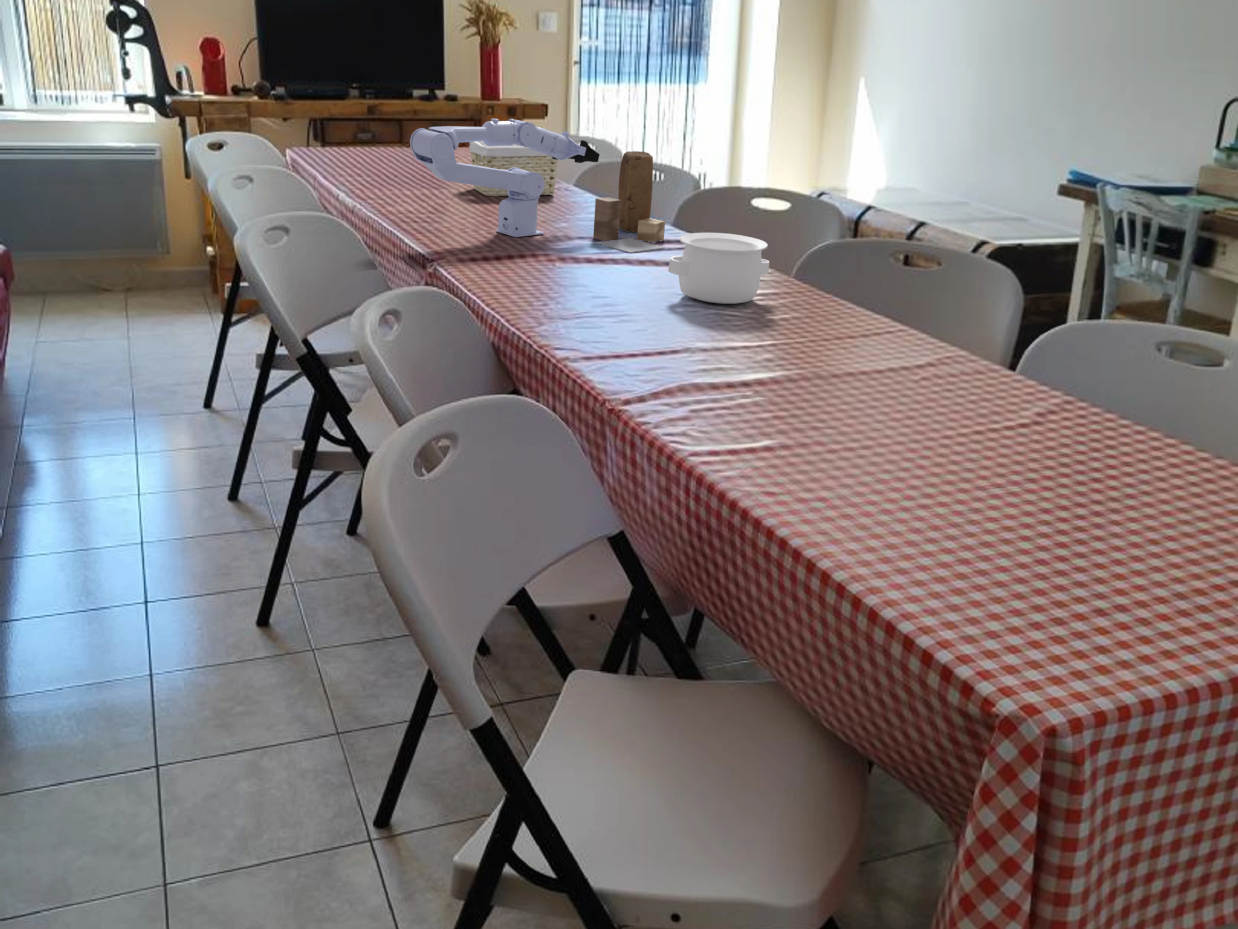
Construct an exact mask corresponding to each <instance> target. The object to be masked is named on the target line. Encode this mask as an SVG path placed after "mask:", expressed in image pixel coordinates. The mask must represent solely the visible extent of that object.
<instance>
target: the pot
mask: <svg viewBox="0 0 1238 929" xmlns="http://www.w3.org/2000/svg"><path fill="white" fill-rule="evenodd" d="M679 241H680V243H682V244H683V245H684V250H683V253H682V255H674V256H671V257H670V259H669V263H668V269H667V272H668V273H670V274H673V275H676V276H678V282H679V287H680V292H681V293H682V294H683V295H685V296H686V297H689V298H693V299H695V300H699V301H703V302H706V303H707V302H708V303H713V304H723V305H724V304H726V305H728V304H730V305H732V304H734V305H735V304H741V303H746V302H751V301H752V300H753V299H755V297H756V295H757V292H758V290H759V288H760V283H761V276H763V275H767V274H770V273H769V271H770V261H769V260H767V259H765V258H762V251H763V250H766V249H768V247H769V246H768V243H767V242H766V241H764V240H762V239H759V238H756V237H751V236H746V235H741V234H736V233H735V234H734V233H724V232H693V233H687V234H683V235H681V236H679Z"/></svg>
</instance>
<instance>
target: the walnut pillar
mask: <svg viewBox="0 0 1238 929" xmlns="http://www.w3.org/2000/svg"><path fill="white" fill-rule="evenodd" d="M620 208H621V200H619V198H618V199H617V198H614V197H613V198H612V197H610V196H609V197H608V196H607V197H597V198H595V204H594V220H593V235H592V236H593V237H592V238H593V239H594V238H596V239H595V240H597V239H600V240H599V241H601V240H603V241H602V242H604V241H611V240H619V239H620V238H619V237H620V236H619V234H620V227H619V223H620Z"/></svg>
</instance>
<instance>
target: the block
mask: <svg viewBox="0 0 1238 929" xmlns="http://www.w3.org/2000/svg"><path fill="white" fill-rule="evenodd" d="M653 176H654V157H653V155H651V154H650V153H649V152H646V151H637V150H636V151H628V150H627V151H626V152H625V153H623V156H622V159H621V162H620V166H619V176H618V200H621V208H620V223H619V229H620V230H622V231H624V232H627V233H635V234H638V221H639V220H643V219H647V218H650V219H651V212H652V211H651V210H652V200H653V183H654V182H653V180H654V178H653Z"/></svg>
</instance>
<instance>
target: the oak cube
mask: <svg viewBox="0 0 1238 929" xmlns="http://www.w3.org/2000/svg"><path fill="white" fill-rule="evenodd" d="M665 228H666V221H665V220H661V219H653V218H651V217H650V218H647V219H643V220H639V221H638V233H636V236H637V237H636V240H637V239H638V240H643V241H644V242H645V241H650V242H656V241H660V240H665ZM650 242H649V243H650ZM660 242H661V241H660Z"/></svg>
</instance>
